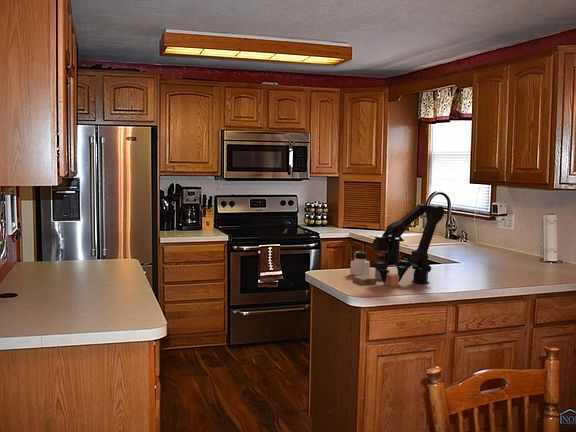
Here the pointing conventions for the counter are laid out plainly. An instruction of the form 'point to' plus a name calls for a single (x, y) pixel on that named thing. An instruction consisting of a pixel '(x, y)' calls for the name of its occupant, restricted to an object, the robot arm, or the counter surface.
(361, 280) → the walnut slab
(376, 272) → the grey cube
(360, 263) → the medicine bottle
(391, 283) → the terracotta cube
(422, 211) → the robot arm
